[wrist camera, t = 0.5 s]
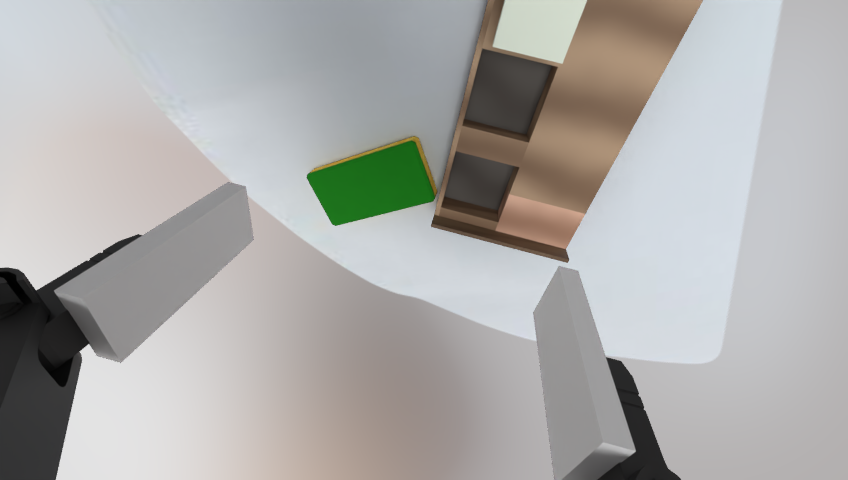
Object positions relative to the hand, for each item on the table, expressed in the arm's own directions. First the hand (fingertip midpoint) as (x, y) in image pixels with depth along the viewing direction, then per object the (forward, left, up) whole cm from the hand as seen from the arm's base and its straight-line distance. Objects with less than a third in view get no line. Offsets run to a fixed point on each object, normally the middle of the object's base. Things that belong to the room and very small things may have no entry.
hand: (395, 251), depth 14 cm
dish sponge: (+9, -7, -25) cm, 28 cm away
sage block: (-10, +4, -21) cm, 24 cm away
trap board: (-2, +8, -24) cm, 26 cm away
